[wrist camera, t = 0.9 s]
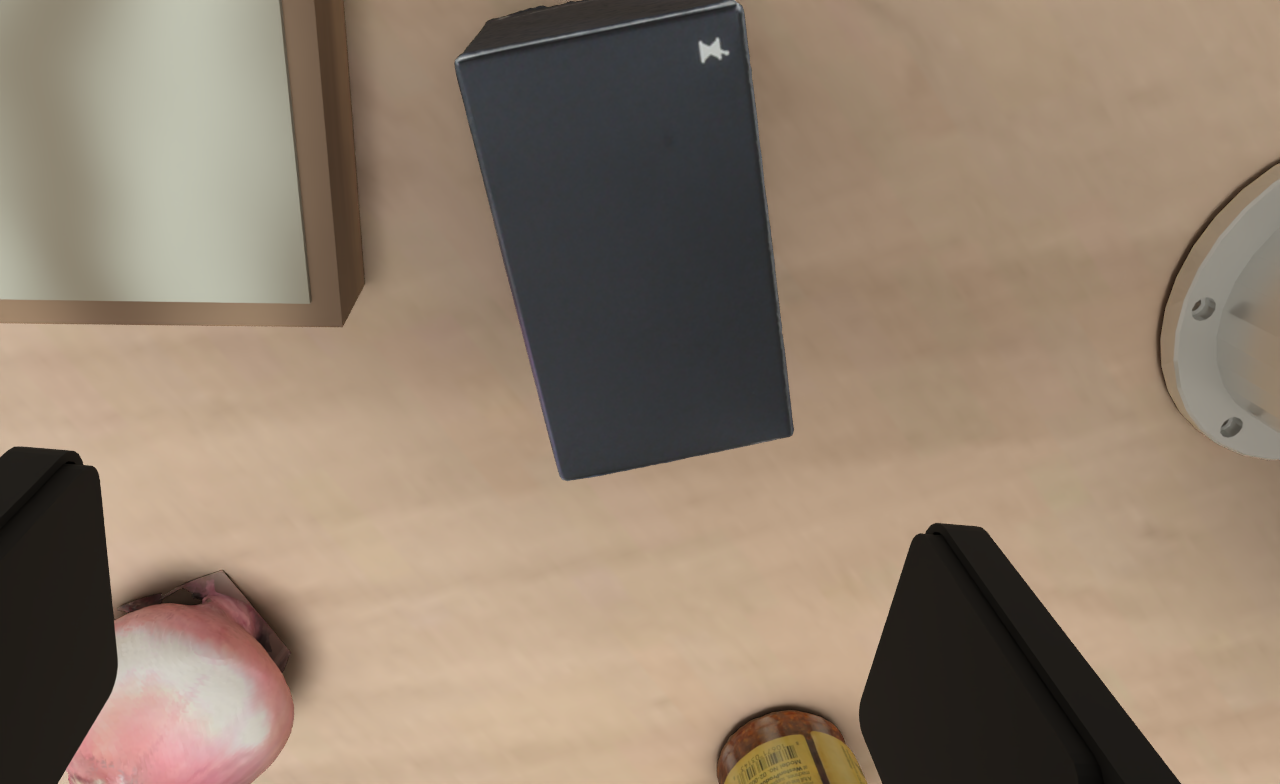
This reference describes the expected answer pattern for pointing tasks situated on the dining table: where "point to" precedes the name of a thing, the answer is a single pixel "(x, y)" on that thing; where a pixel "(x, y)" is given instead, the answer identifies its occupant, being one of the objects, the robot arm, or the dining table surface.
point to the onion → (190, 694)
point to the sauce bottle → (788, 752)
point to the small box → (633, 226)
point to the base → (177, 163)
